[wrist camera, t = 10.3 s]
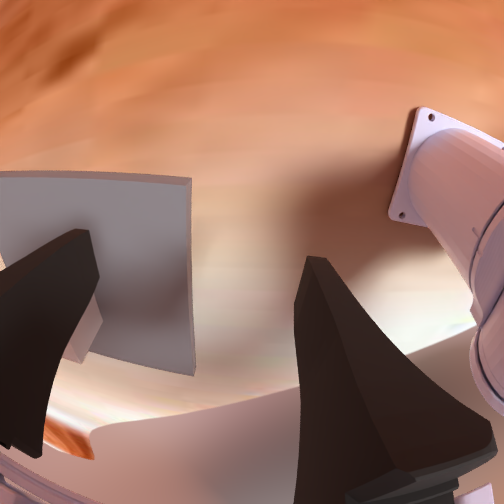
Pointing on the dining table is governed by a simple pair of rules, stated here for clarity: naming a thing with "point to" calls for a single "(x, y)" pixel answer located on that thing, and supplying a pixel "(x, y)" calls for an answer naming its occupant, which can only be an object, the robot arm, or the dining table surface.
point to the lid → (115, 257)
